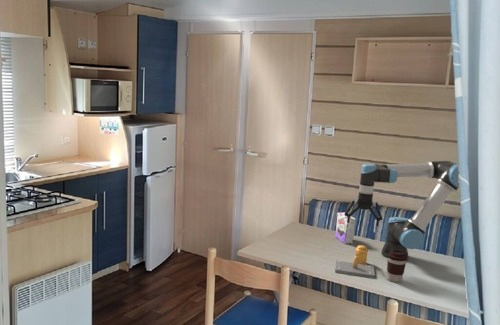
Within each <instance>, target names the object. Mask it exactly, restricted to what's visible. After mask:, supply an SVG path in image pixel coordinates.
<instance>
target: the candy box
mask: <svg viewBox="0 0 500 325" xmlns="http://www.w3.org/2000/svg"><path fill="white" fill-rule="evenodd" d="M336 214H337V216H336V224H335V232H334V237H335V238H336V239H337V240H339V241H340V242H341V243H343V244H344V245H353V242H354V234H355V227H356V218H355V217H353V215H351V216H350V217H351V224H350V229H349V223H347V218H348V217H347V216H345V212H337V213H336Z"/></svg>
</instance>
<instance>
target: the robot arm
mask: <svg viewBox="0 0 500 325" xmlns="http://www.w3.org/2000/svg"><path fill="white" fill-rule="evenodd" d="M458 164H459V163H456V162H453V161H450V160H438V161H437V160H435V161H434V160H433V161H432V160H431V161H427V162H426V163H397V164H396V163H394V164H393V163H390V164H388V163H387V164H379V163H364V164H362V165H361V170H360V180H359V189H358V191H359V192H358V197H357V200H356V199H352V200H351V203H350V205H349V206H348V207H347V209H346V211H345V212H344V213H345V216H347V217H348V218H347V223H349V229H350V224H351V217H350V216H353V215H354V214H355V213H356V212H357V211H359V209H361V210H365V211H366V210H367V211H368V210H369V212H370V213H371V214H372V216H373V217H374V218H375V220H374V226H373V227H374V228H373V233H376V232H377V231H376V230H377V227H379V222H380V221H382V220H383V216H382V214H381V211H380V208H379V203H378V201H376V202H373V199H374V198H373V197H374V188H375V183H383V184H385V183H386V184H394V183H396V182H397V181H398V178H417V177H419V178H420V177H421V178H426V177H427V179H436V185H435V186H434V187H433V189H432V190H431V192H430V193H429V195H428V196H427V197H426V199H425V200H424V201H423V202H422V203H421V205H420V207H419V208H418V209H417V211H416V212H415V213H414V214H413V216H412V217H411V218H407V217H406V218H405V217H399V216H391V217H389V219H388V221H387V232H386V239H385V242H384V245H383V247H382V249H381V256H384V257H385V258H387V259H388V257H387V253H388V252H391V251H392V250H400V251H403V252H404V253H405V255H407V256H408V257H409V251H408V249H409V250H415V249H417V248H419V247H420V246H422V244H423V243H424V235H425V234H426V227H427V226H428V224H429V223H430V222H431V220H432V219H433V218H434V216H435V215H436V214H437V213H438V211H439V210H440V208H441V207H442V206H443V204H444V203H445V201H446V200H448V198H449V196H450V195H451V194H452V193H456V192H457V190H458V189H459V188H460V187H459V183H458ZM354 205H357V206H356V207H355V208H353V206H354ZM372 206H374V207H375V209H376V213H377V214H378V215H377V214H376V213H375V210H374V209H373V207H372ZM352 208H353V209H352ZM351 210H352V211H351Z"/></svg>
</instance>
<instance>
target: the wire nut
mask: <svg viewBox="0 0 500 325" xmlns="http://www.w3.org/2000/svg"><path fill="white" fill-rule="evenodd" d="M368 252H369V249H368V247H367V246H365V245H363V244H362V245H361V244H359V245H357V247H355V256H357V257H358V264H364V265H367V258H368Z"/></svg>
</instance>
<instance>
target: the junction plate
mask: <svg viewBox="0 0 500 325" xmlns="http://www.w3.org/2000/svg"><path fill="white" fill-rule="evenodd" d="M334 270H335V272H334V273H338V274H345V275H351V276H356V275H358V276H357V277H365V278H369V277H370V278H369V279H375V276H376V274H375V266H374V265H371V264H370V265H369V264H366V265H364V264H358V257H357V256H353V260H352V262H350V261H344V260H343V261H342V260H336V261H335V268H334Z"/></svg>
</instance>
